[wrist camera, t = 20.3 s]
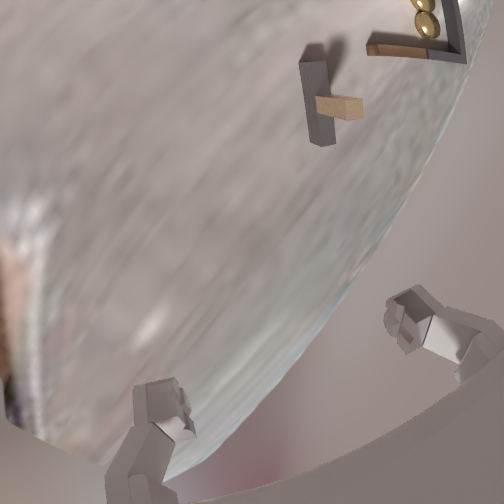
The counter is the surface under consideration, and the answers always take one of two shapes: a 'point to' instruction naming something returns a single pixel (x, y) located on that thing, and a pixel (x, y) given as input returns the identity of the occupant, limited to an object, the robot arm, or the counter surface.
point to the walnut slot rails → (395, 51)
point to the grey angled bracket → (451, 36)
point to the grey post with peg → (325, 103)
